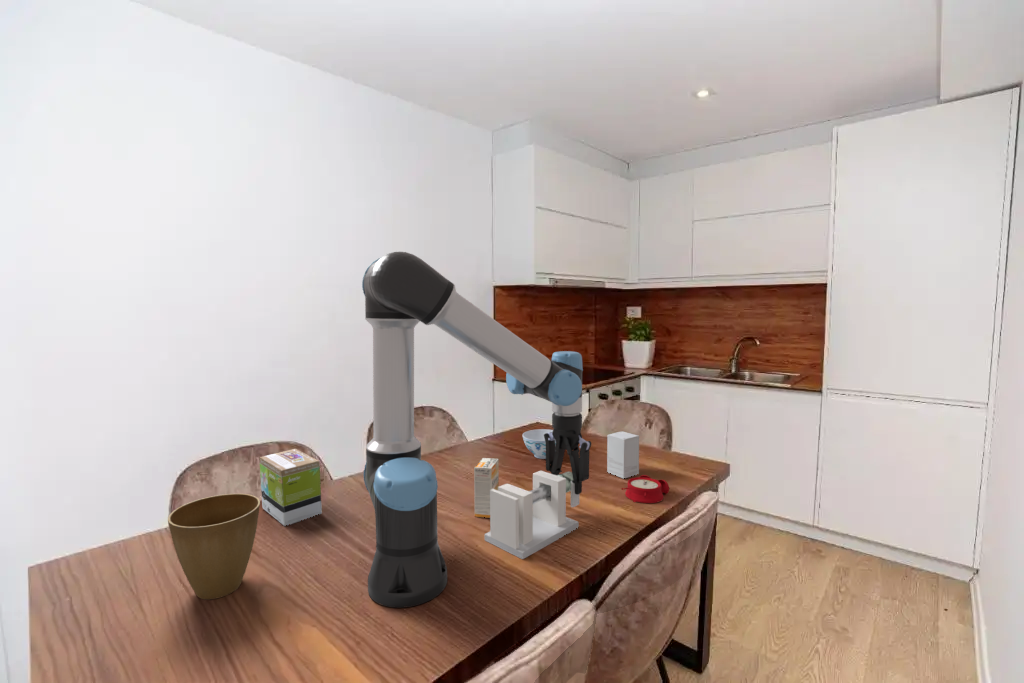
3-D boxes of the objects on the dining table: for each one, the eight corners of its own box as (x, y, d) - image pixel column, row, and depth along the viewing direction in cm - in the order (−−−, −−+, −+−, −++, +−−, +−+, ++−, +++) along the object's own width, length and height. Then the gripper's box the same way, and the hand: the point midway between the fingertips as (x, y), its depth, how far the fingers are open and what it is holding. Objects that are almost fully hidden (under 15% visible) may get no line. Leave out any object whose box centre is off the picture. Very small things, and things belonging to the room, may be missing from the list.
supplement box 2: (639, 474, 152) (640, 435, 151) (623, 479, 148) (624, 439, 147) (622, 467, 159) (622, 430, 157) (606, 472, 154) (606, 434, 153)
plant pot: (163, 622, 83) (157, 533, 81) (183, 577, 96) (178, 500, 95) (260, 600, 89) (256, 517, 87) (266, 560, 102) (262, 488, 101)
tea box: (260, 509, 128) (258, 455, 126) (298, 498, 135) (296, 447, 134) (283, 527, 117) (281, 469, 116) (323, 514, 125) (321, 459, 124)
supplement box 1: (492, 518, 122) (491, 468, 121) (474, 517, 123) (473, 467, 122) (499, 505, 130) (499, 458, 129) (482, 504, 131) (481, 457, 130)
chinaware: (566, 462, 164) (566, 440, 163) (522, 462, 164) (522, 440, 163) (562, 449, 179) (562, 429, 178) (522, 449, 179) (522, 429, 178)
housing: (541, 512, 125) (541, 466, 124) (578, 527, 117) (578, 477, 116) (484, 540, 111) (484, 487, 110) (522, 559, 102) (522, 502, 101)
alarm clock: (615, 485, 134) (642, 461, 144) (618, 505, 136) (644, 479, 146) (649, 495, 127) (675, 469, 137) (652, 516, 128) (677, 489, 139)
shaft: (563, 486, 125) (563, 469, 125) (577, 491, 122) (577, 474, 121) (500, 514, 109) (500, 495, 108) (514, 521, 105) (514, 501, 105)
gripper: (605, 415, 117) (604, 508, 119) (549, 405, 129) (549, 489, 131) (587, 421, 112) (586, 517, 114) (531, 409, 124) (531, 497, 126)
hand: (566, 502), depth 123 cm, fingers closed on shaft, 5 cm apart
